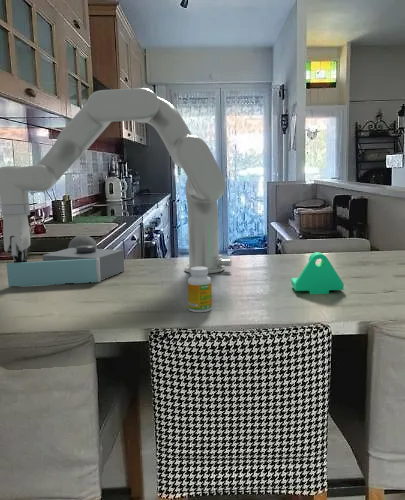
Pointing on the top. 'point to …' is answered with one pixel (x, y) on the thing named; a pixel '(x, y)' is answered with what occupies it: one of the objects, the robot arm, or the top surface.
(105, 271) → the grey box with knob
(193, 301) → the supplement bottle
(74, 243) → the decorative ball
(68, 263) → the door
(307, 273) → the camera mount
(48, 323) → the top surface
